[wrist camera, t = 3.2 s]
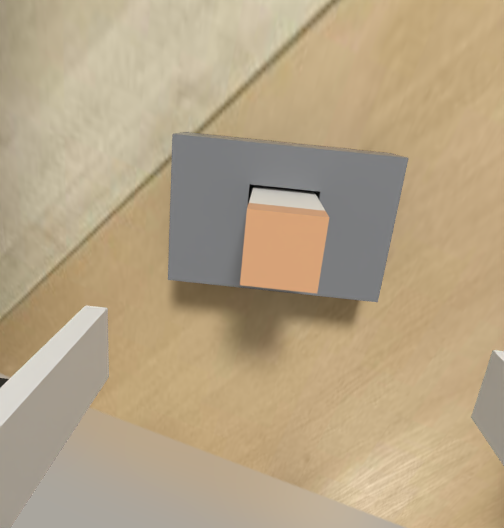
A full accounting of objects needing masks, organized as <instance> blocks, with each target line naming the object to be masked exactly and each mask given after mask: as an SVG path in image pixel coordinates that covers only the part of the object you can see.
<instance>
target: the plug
mask: <svg viewBox="0 0 504 528" xmlns="http://www.w3.org/2000/svg"><path fill="white" fill-rule="evenodd" d="M328 223H329V216H328V214H327V213H326V211H325V209H324V207H323V206H322V204H321V202H320V201H319V199H318V197H317V196H316V194H315V192H314V191H310V190H300V189H291V188H281V187H271V186H262V185H254V187H253V190H252V193H251V197H250V200H249V204H248V207H247V214H246V225H245V235H244V246H243V257H242V267H241V278H240V285H242V286H252V287H261V288H270V289H280V290H289V291H298V292H308V293H317V292H318V286H319V279H320V273H321V267H322V261H323V254H324V248H325V242H326V236H327V229H328Z"/></svg>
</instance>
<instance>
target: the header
mask: <svg viewBox="0 0 504 528" xmlns="http://www.w3.org/2000/svg"><path fill="white" fill-rule="evenodd" d="M407 162H408V158H407V157H403V156H399V155H396V154H392V153H384V152H374V151H365V150H355V149H345V148H335V147H326V146H316V145H306V144H296V143H287V142H277V141H267V140H257V139H248V138H238V137H228V136H218V135H208V134H199V133H189V132H183V133H175V134H173V139H172V170H171V201H170V233H169V264H168V280H175V281H185V282H194V283H203V284H213V285H222V286H231V287H241V288H250V289H259V290H269V291H278V292H287V293H297V294H306V295H315V296H325V297H334V298H343V299H353V300H362V301H371V302H378V298H379V293H380V289H381V284H382V279H383V275H384V270H385V265H386V261H387V256H388V251H389V247H390V242H391V237H392V233H393V228H394V223H395V218H396V214H397V209H398V204H399V200H400V195H401V190H402V186H403V181H404V176H405V172H406V167H407ZM254 185H262V186H271V187H281V188H291V189H300V190H310V191H314V192H315V194H316V196H317V197H318V199H319V201H320V202H321V204H322V206H323V207H324V209H325V211H326V213H327V214H328V216H329V223H328V229H327V236H326V242H325V248H324V254H323V261H322V267H321V273H320V279H319V286H318V292H317V293H308V292H298V291H289V290H280V289H270V288H261V287H252V286H242V285H240V278H241V267H242V257H243V246H244V235H245V225H246V214H247V207H248V204H249V200H250V197H251V193H252V190H253V187H254Z"/></svg>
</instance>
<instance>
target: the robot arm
mask: <svg viewBox="0 0 504 528" xmlns="http://www.w3.org/2000/svg"><path fill="white" fill-rule="evenodd" d="M108 377H109V362H108V308H104V307H94V306H84V307H83V308H82V309H81V310H80V311H79V312H78V313H77V314H76V315H75V316H74V317H73V318H72V319H71V320H70V321H69V322H68V323H67V324H66V325H65V326H64V327H63V328H62V329H61V330H60V331H59V332H57V333H56V334H55V335H54V336H53V337H52V338H51V339H50V340H49V341H48V342H47V343H46V344H45V345H44V346H43V347H42V348H41V349H40V350H39V351H38V352H37V353H36V354H35V355H34V356H33V357H32V358H31V359H30V360H29V361H27V362H26V363H25V364H24V365H23V366H22V367H21V368H20V369H19V370H18V371H17V372H16V373H15V374H14V375H13V376H12V377H11V378H10V379H4V378H0V528H11V526H12V525H13V523H14V522H15V520H16V519H17V517H18V516H19V514H20V512H21V511H22V509H23V508H24V506H25V505H26V503H27V502H28V500H29V499H30V497H31V496H32V494H33V492H34V491H35V489H36V488H37V486H38V485H39V483H40V481H41V480H42V479H43V477H44V476H45V474H46V473H47V471H48V469H49V468H50V466H51V465H52V463H53V462H54V460H55V459H56V457H57V456H58V454H59V452H60V451H61V450H62V448H63V446H64V445H65V443H66V442H67V440H68V439H69V437H70V436H71V434H72V432H73V431H74V430H75V428H76V426H77V425H78V423H79V422H80V420H81V419H82V417H83V416H84V414H85V413H86V411H87V410H88V408H89V406H90V405H91V403H92V402H93V400H94V399H95V397H96V396H97V394H98V393H99V391H100V390H101V388H102V386H103V385H104V383H105V382H106V380H107V379H108ZM471 418H472V419H473V421H474V422H475V424H476V425H477V427H478V428H479V430H480V431H481V433H482V434H483V436H484V437H485V439H486V440H487V442H488V443H489V445H490V446H491V448H492V449H493V451H494V452H495V454H496V455H497V457H498V458H499V460H500V461H501V463H502V464H503V466H504V351H497V350H493V351H492V354H491V357H490V360H489V363H488V366H487V370H486V373H485V376H484V379H483V382H482V385H481V388H480V391H479V394H478V397H477V401H476V404H475V407H474V410H473V413H472V416H471Z"/></svg>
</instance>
